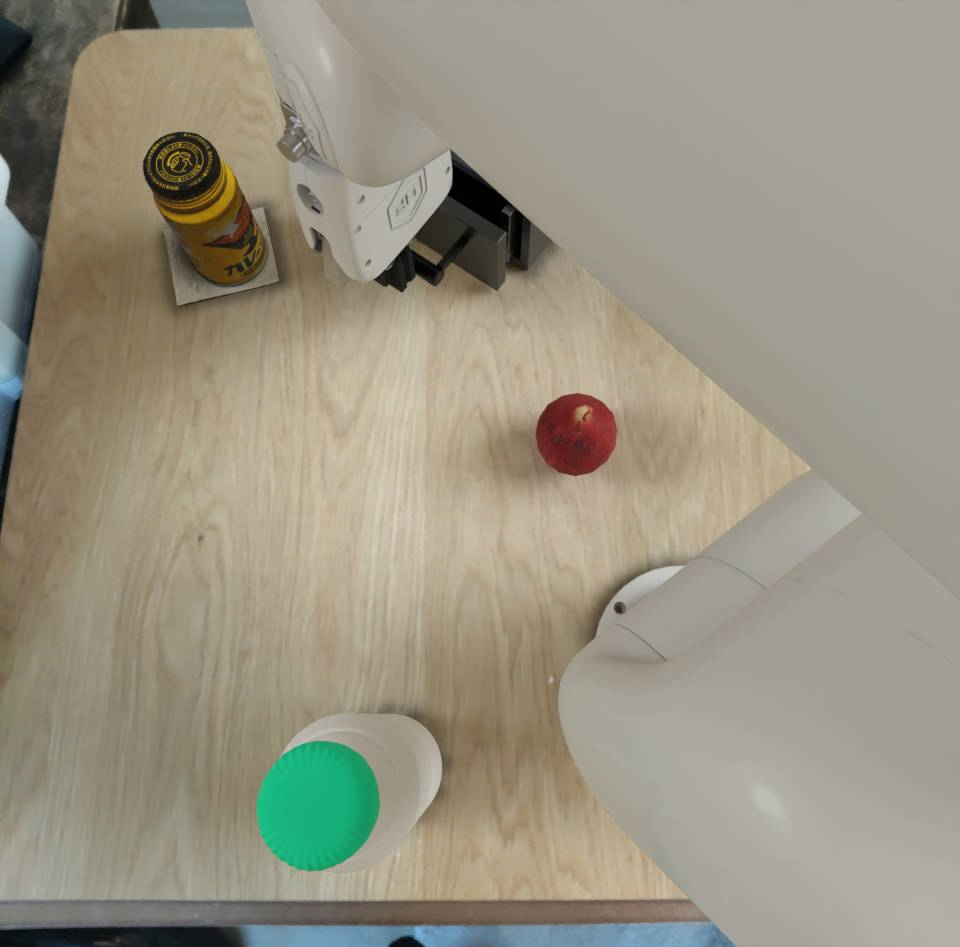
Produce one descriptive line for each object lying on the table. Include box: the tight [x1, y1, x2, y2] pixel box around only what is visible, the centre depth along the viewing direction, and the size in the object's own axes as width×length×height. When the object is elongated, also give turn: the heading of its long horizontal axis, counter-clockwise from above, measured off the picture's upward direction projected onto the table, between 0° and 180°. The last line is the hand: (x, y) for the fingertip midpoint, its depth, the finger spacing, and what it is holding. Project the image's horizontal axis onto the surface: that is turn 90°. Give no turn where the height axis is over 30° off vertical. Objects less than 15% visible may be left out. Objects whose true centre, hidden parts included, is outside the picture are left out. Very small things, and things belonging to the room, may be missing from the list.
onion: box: [535, 392, 618, 477], centre depth 57 cm, size 6×6×8 cm
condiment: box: [142, 131, 280, 307], centre depth 61 cm, size 7×8×12 cm
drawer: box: [411, 165, 523, 292], centre depth 63 cm, size 18×11×7 cm, turn 144°
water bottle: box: [255, 712, 443, 874], centre depth 43 cm, size 7×7×25 cm
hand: (392, 274), depth 60 cm, fingers closed
